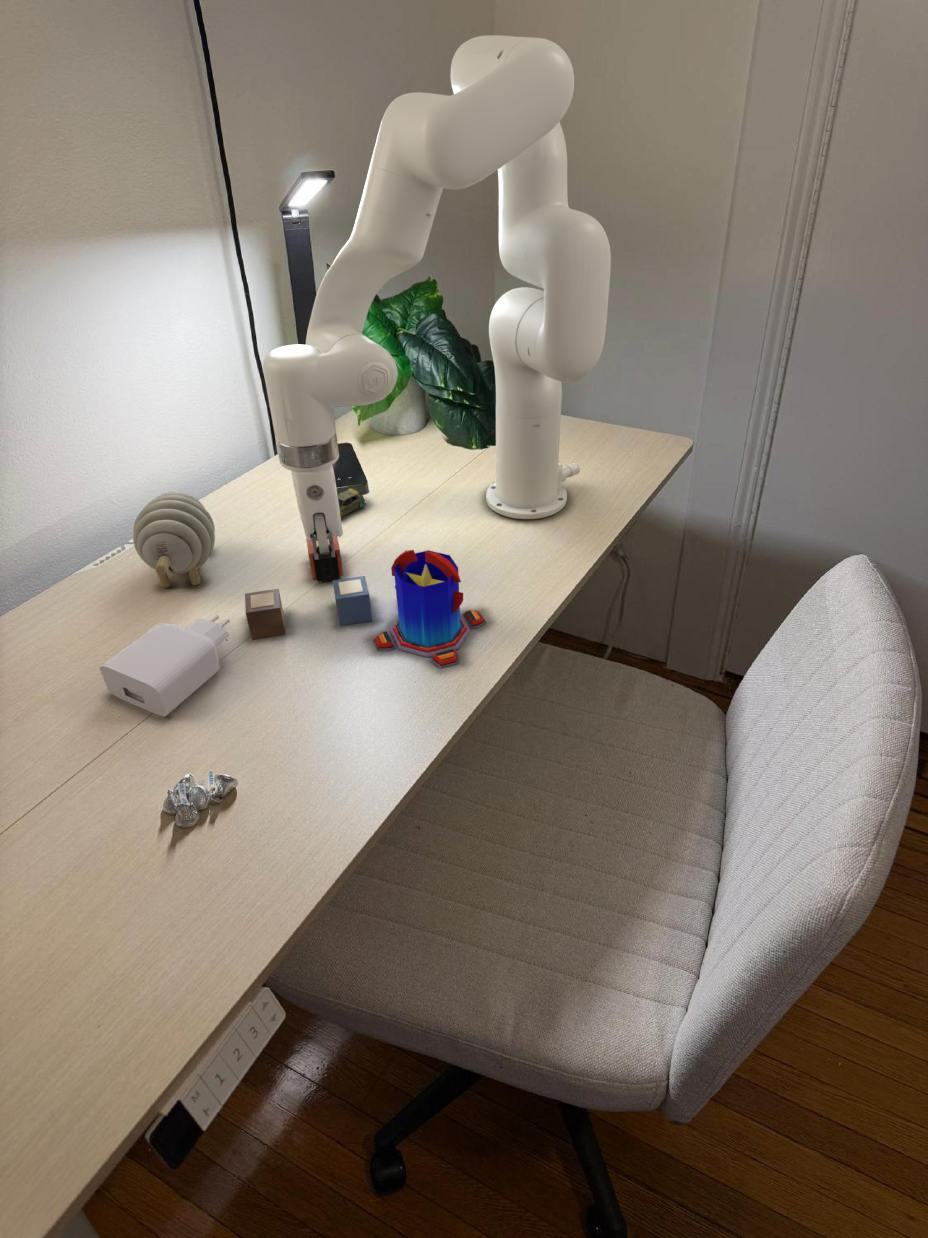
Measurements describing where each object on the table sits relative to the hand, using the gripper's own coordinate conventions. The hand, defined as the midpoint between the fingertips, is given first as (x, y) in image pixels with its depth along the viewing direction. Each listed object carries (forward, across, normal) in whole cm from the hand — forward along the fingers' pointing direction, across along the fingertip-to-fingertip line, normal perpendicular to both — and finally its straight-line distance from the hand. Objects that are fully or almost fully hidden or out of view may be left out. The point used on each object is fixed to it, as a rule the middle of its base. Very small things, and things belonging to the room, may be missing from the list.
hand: (326, 566), depth 114 cm
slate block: (0, -11, -2) cm, 12 cm away
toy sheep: (+1, +5, +20) cm, 20 cm away
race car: (+1, +16, -4) cm, 16 cm away
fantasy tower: (+1, -17, -11) cm, 21 cm away
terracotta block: (0, 0, 0) cm, 0 cm away
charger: (+1, -17, +18) cm, 25 cm away
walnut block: (0, -11, +8) cm, 14 cm away
